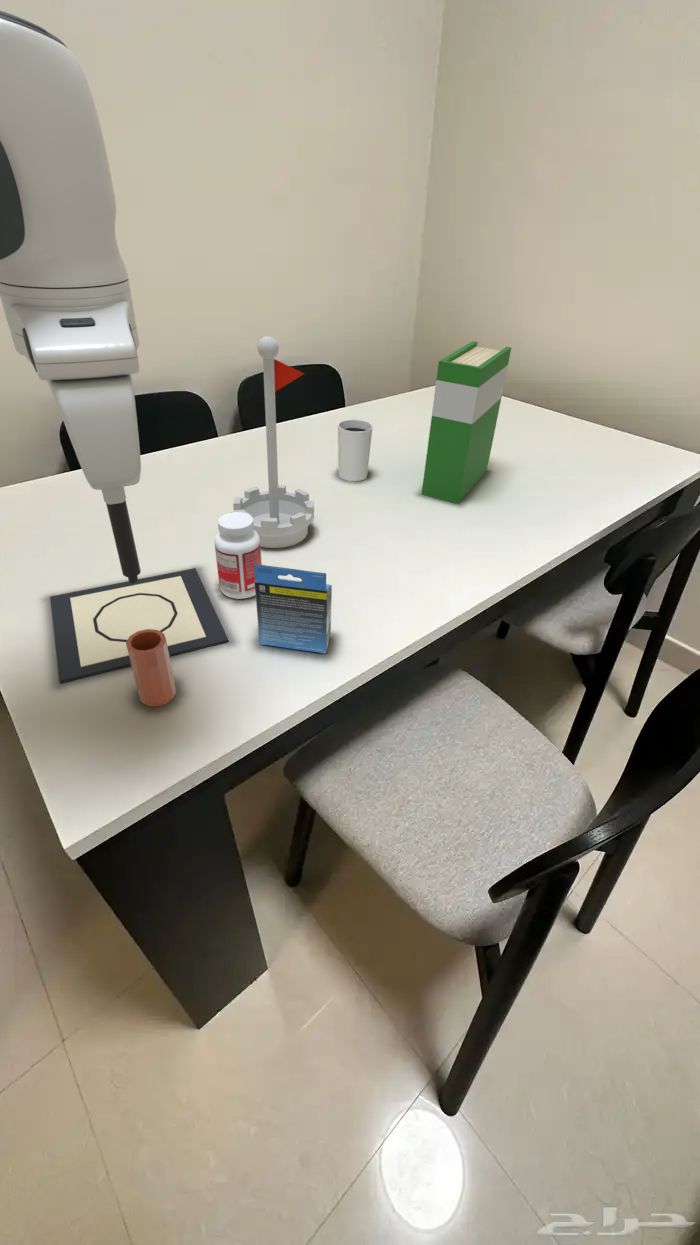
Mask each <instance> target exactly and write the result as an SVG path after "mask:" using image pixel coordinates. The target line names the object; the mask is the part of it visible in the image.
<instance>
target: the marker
mask: <svg viewBox="0 0 700 1245" xmlns="http://www.w3.org/2000/svg"><path fill="white" fill-rule="evenodd" d="M126 500H127V499H126ZM126 500H125V501H124V502H123V503H118V504H111V505H109V504H106V503H105V505H106V509H107V514H108V517H109V522H110V526H111V530H112V535H113V539H114V544H115V547H116V552H117V555H118V560H119V564H120V568H121V573H122V575H123V576H124V577H125V578H127V580H128V581H129V582H130V583H137V582H138V579H139V575H140V574H141V571H142V570H141V566H140V562H139V556H138V552H137V547H136V541H135V538H134V533H133V528H132V524H131V518H130V514H129V509H128V504H127V501H126Z"/></svg>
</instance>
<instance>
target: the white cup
mask: <svg viewBox="0 0 700 1245" xmlns="http://www.w3.org/2000/svg"><path fill="white" fill-rule="evenodd" d="M373 427H374V426H373V424H372V423H371V422H369V421H366V420H361V419H346V420H342V421H340V422H338V424H337V452H338V453H337V460H338V462H337V464H338V465H337V467H338V470H337V471H338V477H339V478H340V479H342V480H344V481H348V482H360V481H363V480H366V479H367V478H368V471H369V464H370V454H371V446H372V445H371V444H372V438H373V437H372V436H373Z"/></svg>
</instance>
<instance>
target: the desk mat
mask: <svg viewBox="0 0 700 1245" xmlns="http://www.w3.org/2000/svg"><path fill="white" fill-rule="evenodd" d="M49 600H50V601H49V602H50V610H51V618H52V627H53V635H54V636H53V637H54V645H55V653H56V654H55V656H56V662H57V663H56V665H57V673H58V681H59V683H60V684H63V683H67V682H71V681H75V680H79V679H83V678H87V677H91V676H96V675H99V674H104V673H109V672H111V671H115V670H119V669H124V668H127V667H132V665H131V662H130V658H129V654H128V650H127V646H126V641H127V640H128V638H129V637H130V636H131V635H133V634H134V633H136V632H138V631H141V630H146V629H153V630H158V631H160V632H162V633H164V635H165V638H166V642H167V647H168V652H169V657H172V656H177V655H181V654H185V653H189V652H193V651H197V650H200V649H205V648H209V647H213V646H217V645H221V644H226V643H228V642H229V638H228V635H227V633H226V631H225V629H224V626H223V625H222V622H221V621H220V619H219V616H218V614H217V612H216V609H215V608H214V605H213V603H212V601H211V599H210V596H209V594H208V593H207V590H206V588H205V585H204V584H203V581H202V579H201V577H200V575H199V573H198V570H197V569H196V567H194V568H188V569H184V570H183V569H182V570H178V571H173V572H168V573H164V574H158V575H153V576H148V577H143V578H138V582H137V583H130V582H129V580H128V581H127V580H126V581H122V582H117V583H112V584H106V585H103V586H96V587H92V588H86V589H81V590H77V591H71V592H66V593H60V594H56V595H51V596H49Z"/></svg>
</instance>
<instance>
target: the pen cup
mask: <svg viewBox="0 0 700 1245" xmlns="http://www.w3.org/2000/svg"><path fill="white" fill-rule="evenodd" d="M126 646H127V650H128V654H129V658H130V662H131V665H132V666H131V669H132V672H133V677H134V681H135V685H136V688H137V693H138V697H139V700H140V701H141V703H142V704H143V705H145V706H148V707H153V708H154V707H162V706H164V705H166V704H168V703H170V702H171V701H172V700H174V698H175V696H176V693H177V689H176V688H177V687H176V683H175V677H174V673H173V667H172V662H171V656H169V652H168V647H167V642H166V638H165V635H164V633H162V632H160V631H158V630H153V629H146V630H141V631H138V632H136V633H134V634H133V635H131V636H130V637H129V638H128V640H127V641H126Z"/></svg>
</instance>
